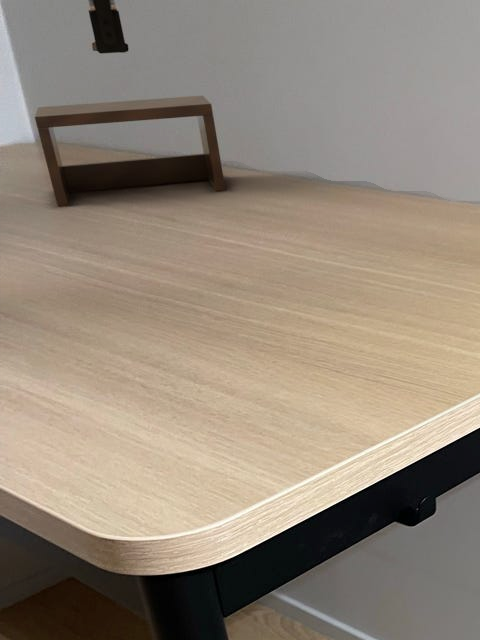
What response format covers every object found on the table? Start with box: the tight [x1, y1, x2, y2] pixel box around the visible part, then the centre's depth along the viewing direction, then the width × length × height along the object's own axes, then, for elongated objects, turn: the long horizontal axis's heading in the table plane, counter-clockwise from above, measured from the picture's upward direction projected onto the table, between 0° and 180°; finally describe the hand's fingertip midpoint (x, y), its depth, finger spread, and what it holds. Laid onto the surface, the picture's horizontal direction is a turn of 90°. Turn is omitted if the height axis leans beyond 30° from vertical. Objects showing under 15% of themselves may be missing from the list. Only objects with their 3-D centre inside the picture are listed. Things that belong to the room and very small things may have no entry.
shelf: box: [34, 95, 227, 207], centre depth 123 cm, size 20×10×10 cm, turn 109°
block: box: [91, 41, 130, 54], centre depth 116 cm, size 4×6×2 cm, turn 30°
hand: (111, 49), depth 117 cm, fingers closed on block, 6 cm apart
